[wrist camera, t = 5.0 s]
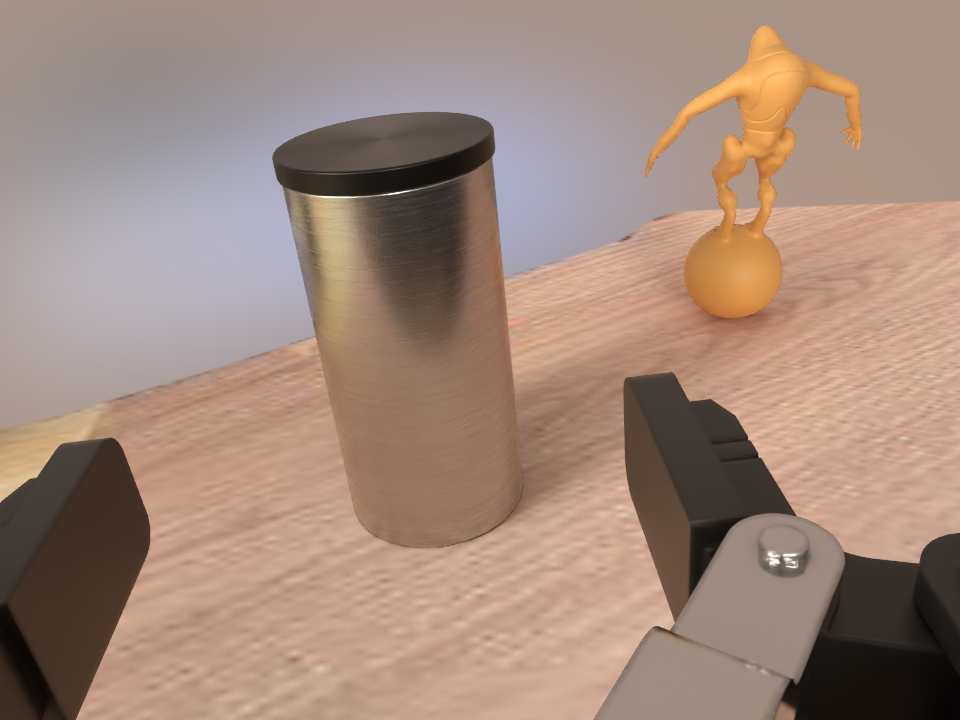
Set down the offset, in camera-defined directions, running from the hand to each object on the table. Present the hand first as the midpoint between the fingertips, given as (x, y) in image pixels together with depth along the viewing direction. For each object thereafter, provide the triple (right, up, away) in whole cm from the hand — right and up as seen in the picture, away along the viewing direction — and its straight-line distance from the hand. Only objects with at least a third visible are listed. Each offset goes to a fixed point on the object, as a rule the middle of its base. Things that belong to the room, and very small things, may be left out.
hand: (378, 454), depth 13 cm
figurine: (+13, +3, +22) cm, 26 cm away
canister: (0, -3, +14) cm, 14 cm away
